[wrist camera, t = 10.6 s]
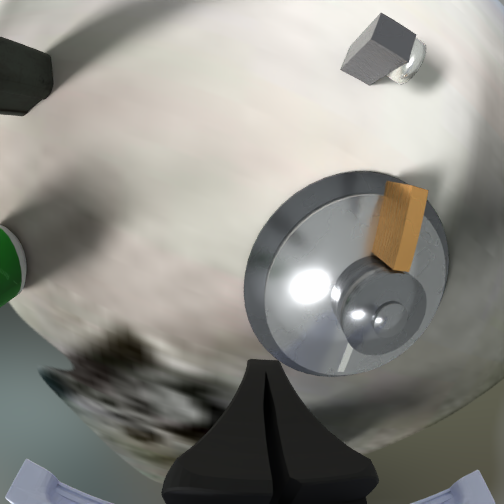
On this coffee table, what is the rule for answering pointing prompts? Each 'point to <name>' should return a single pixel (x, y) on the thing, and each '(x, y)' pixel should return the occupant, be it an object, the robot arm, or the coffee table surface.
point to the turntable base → (280, 227)
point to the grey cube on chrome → (385, 52)
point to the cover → (377, 306)
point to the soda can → (11, 266)
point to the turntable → (336, 261)
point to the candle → (22, 77)
